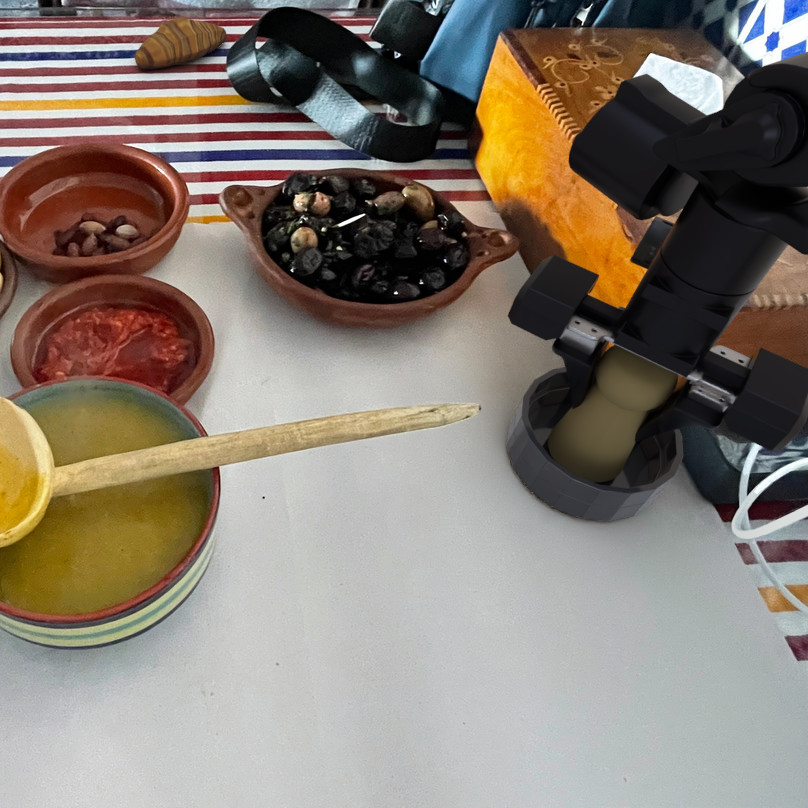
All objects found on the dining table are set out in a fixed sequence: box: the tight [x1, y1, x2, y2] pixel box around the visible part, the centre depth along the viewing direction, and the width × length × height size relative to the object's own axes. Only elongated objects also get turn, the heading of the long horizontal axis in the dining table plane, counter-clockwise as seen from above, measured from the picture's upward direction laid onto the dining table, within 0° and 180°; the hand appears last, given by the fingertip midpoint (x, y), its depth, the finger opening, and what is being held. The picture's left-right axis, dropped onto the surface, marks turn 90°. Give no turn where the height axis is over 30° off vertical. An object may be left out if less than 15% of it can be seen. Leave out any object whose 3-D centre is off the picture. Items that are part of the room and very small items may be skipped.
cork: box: [548, 344, 679, 482], centre depth 56 cm, size 6×6×11 cm
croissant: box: [134, 17, 228, 70], centre depth 96 cm, size 14×7×5 cm, turn 128°
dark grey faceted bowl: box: [505, 366, 684, 522], centre depth 60 cm, size 12×12×4 cm
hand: (605, 421), depth 57 cm, fingers closed on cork, 4 cm apart
